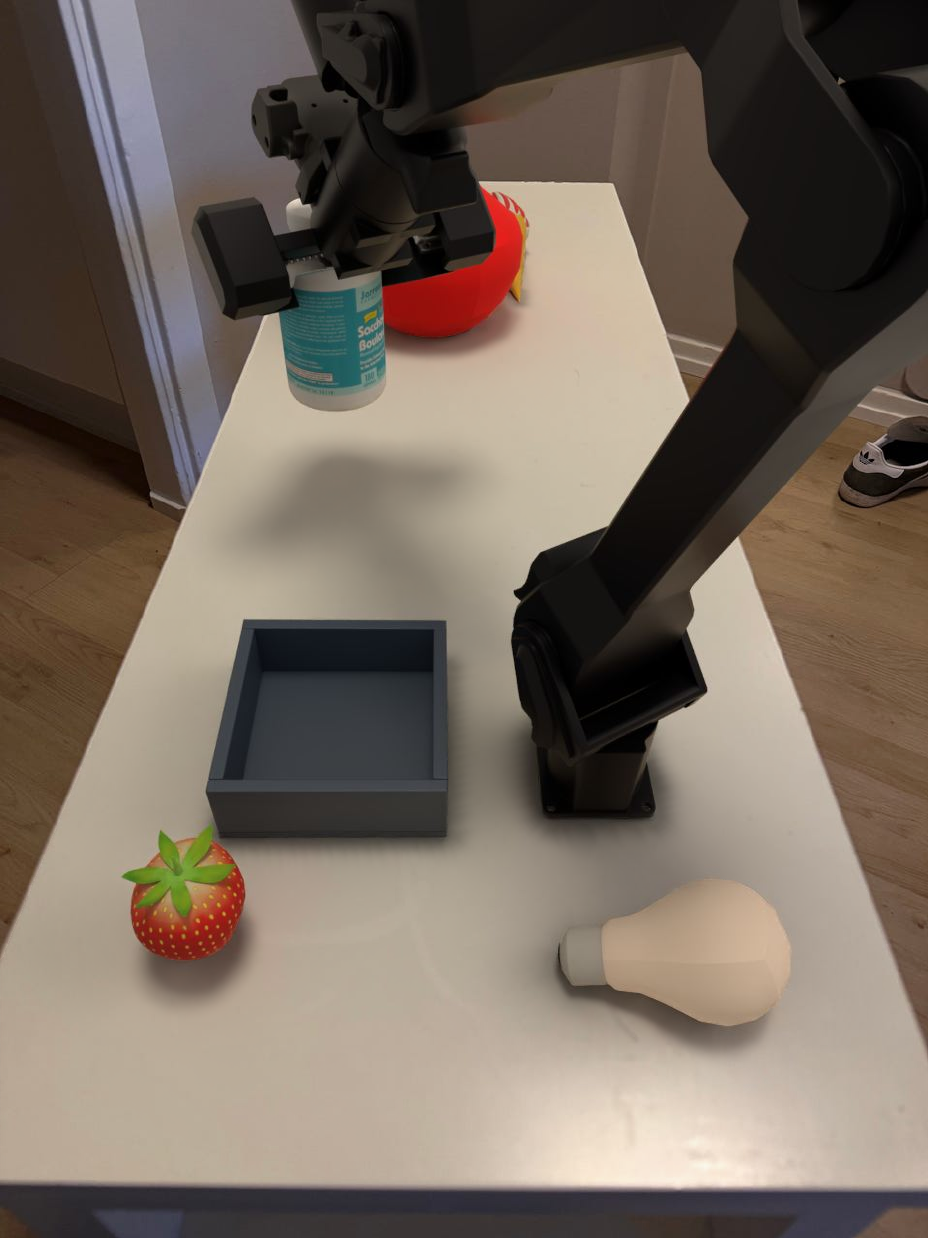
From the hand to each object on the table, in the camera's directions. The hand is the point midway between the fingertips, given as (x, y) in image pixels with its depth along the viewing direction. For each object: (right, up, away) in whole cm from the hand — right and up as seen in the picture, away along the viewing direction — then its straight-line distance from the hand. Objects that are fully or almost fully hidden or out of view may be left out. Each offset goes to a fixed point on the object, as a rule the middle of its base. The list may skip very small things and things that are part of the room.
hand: (322, 292), depth 62 cm
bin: (+3, -31, -9) cm, 33 cm away
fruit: (-3, -40, -18) cm, 44 cm away
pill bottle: (+1, -6, +4) cm, 7 cm away
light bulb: (+20, -41, -19) cm, 49 cm away
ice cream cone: (+14, +18, +40) cm, 46 cm away
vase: (+7, +9, +30) cm, 32 cm away
